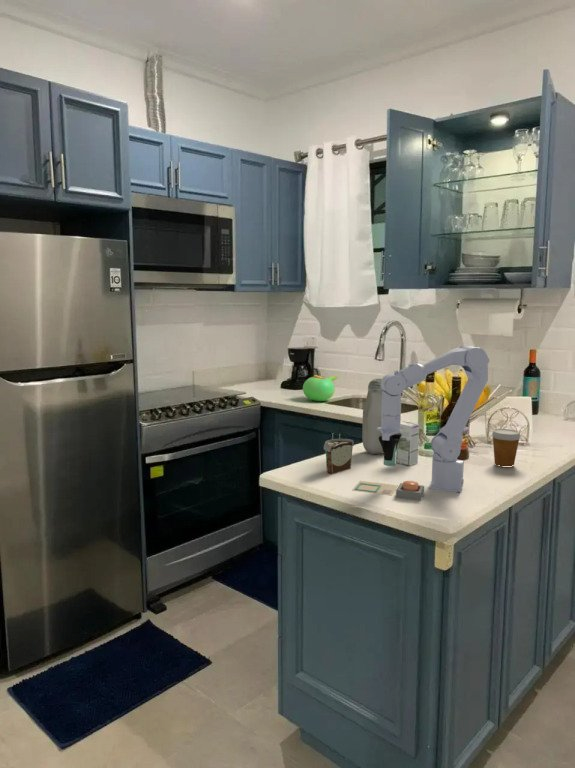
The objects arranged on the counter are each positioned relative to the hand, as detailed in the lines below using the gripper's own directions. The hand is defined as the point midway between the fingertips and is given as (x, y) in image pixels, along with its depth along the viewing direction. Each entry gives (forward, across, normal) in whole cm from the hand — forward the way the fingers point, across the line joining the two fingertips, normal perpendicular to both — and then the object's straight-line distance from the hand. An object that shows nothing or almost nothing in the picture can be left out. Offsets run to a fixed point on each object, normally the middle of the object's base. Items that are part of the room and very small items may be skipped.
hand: (389, 458), depth 181 cm
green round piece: (+9, -136, -67) cm, 152 cm away
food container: (+9, -11, -21) cm, 25 cm away
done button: (+8, +6, +7) cm, 12 cm away
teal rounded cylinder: (+2, 0, 0) cm, 2 cm away
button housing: (+9, +6, +7) cm, 13 cm away
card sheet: (+9, +2, -4) cm, 10 cm away
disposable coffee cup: (+10, -40, +32) cm, 53 cm away
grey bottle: (+9, -38, -13) cm, 42 cm away
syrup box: (+10, -29, 0) cm, 31 cm away
